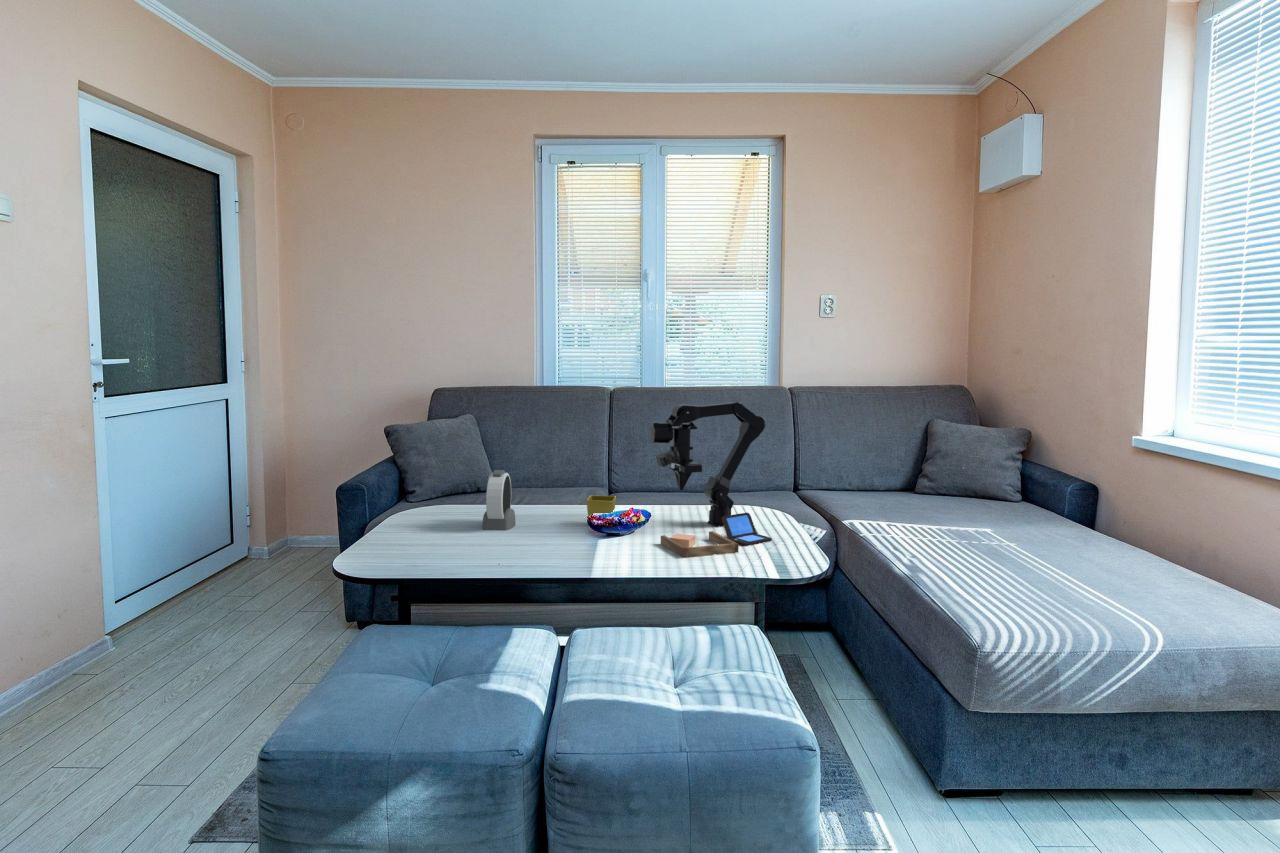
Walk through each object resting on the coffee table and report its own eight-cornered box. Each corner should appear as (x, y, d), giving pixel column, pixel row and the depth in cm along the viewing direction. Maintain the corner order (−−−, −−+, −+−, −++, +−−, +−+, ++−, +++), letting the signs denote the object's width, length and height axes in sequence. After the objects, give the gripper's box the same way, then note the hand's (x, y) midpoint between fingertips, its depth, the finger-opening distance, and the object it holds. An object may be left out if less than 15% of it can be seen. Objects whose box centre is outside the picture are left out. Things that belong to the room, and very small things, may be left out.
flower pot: (616, 522, 262) (616, 495, 261) (612, 528, 253) (613, 500, 252) (590, 521, 263) (590, 494, 262) (585, 527, 254) (586, 499, 253)
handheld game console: (744, 547, 232) (745, 523, 232) (719, 540, 241) (720, 516, 240) (773, 541, 240) (774, 517, 239) (748, 534, 248) (748, 511, 248)
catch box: (712, 539, 241) (712, 531, 240) (738, 552, 226) (738, 543, 225) (660, 543, 234) (660, 535, 234) (684, 557, 219) (684, 548, 219)
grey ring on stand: (510, 532, 246) (510, 474, 244) (477, 531, 246) (477, 474, 244) (519, 520, 262) (519, 466, 260) (488, 519, 262) (488, 466, 260)
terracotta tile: (695, 545, 234) (695, 535, 234) (688, 550, 229) (689, 539, 228) (676, 543, 237) (676, 533, 236) (669, 547, 231) (669, 537, 231)
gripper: (647, 440, 260) (647, 486, 262) (671, 447, 243) (670, 496, 245) (678, 439, 265) (677, 484, 266) (703, 446, 248) (702, 494, 249)
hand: (680, 490), depth 257 cm, fingers closed
